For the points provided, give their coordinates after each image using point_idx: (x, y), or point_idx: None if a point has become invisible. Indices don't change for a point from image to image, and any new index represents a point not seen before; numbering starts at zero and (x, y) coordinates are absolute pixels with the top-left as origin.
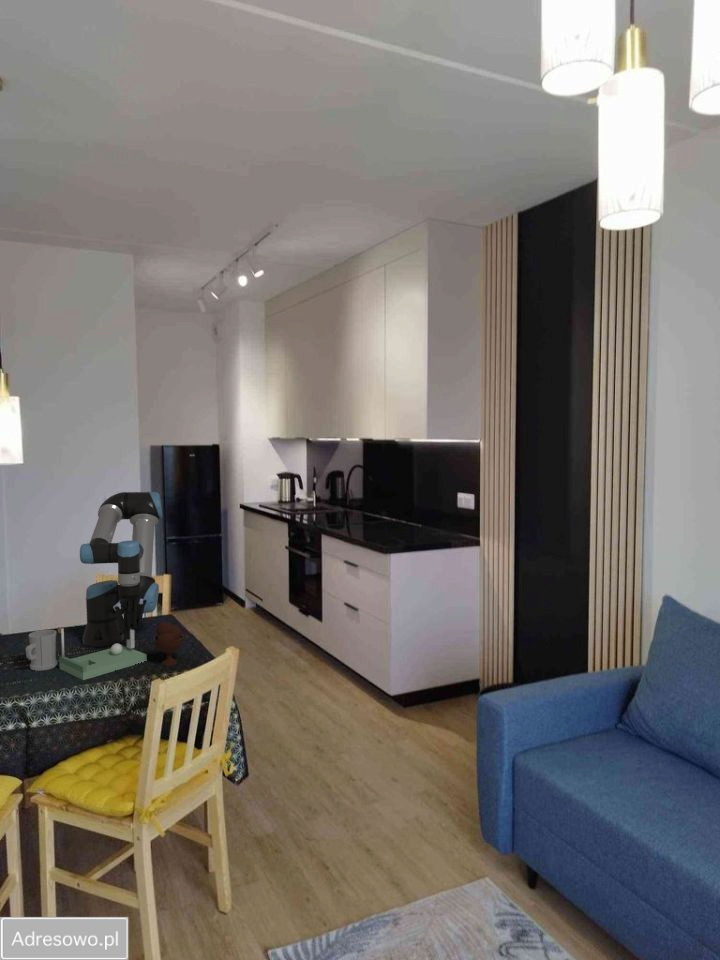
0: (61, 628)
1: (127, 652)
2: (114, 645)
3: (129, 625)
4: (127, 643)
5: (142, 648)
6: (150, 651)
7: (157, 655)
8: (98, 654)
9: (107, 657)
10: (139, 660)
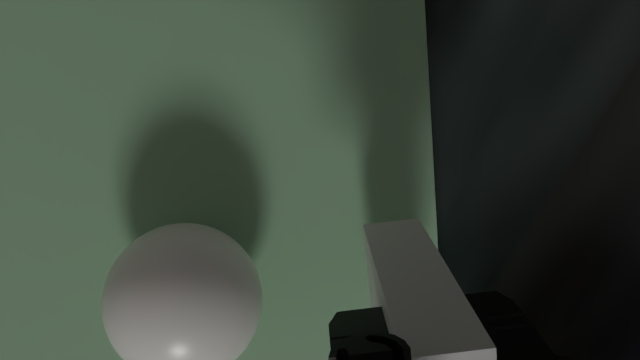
0: None
1: (328, 283)
2: (129, 352)
3: None
4: (371, 263)
5: (635, 20)
6: (629, 186)
7: (599, 346)
8: (13, 110)
9: (70, 292)
10: None
